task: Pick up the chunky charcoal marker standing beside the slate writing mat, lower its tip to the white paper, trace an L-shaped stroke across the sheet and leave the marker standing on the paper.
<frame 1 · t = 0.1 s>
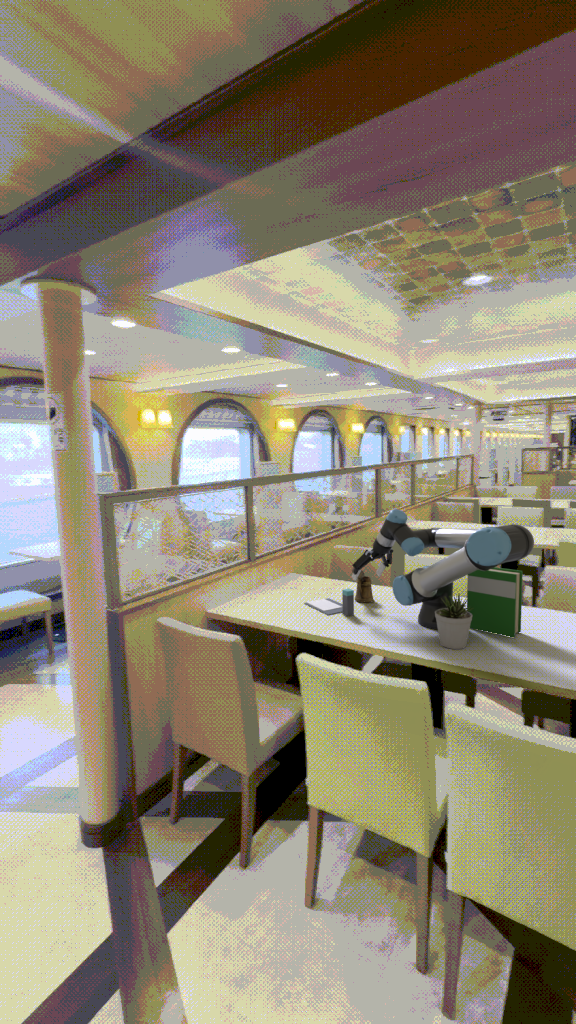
hand: (365, 576, 202), 15 cm above the table, tool tilted 35°, fingers open, 13 cm apart
writing mat: (328, 606, 209), on the table
marker: (348, 614, 197), on the table
wooden mug: (362, 601, 216), on the table
hardback book: (493, 630, 176), on the table
potted plant: (452, 645, 162), on the table
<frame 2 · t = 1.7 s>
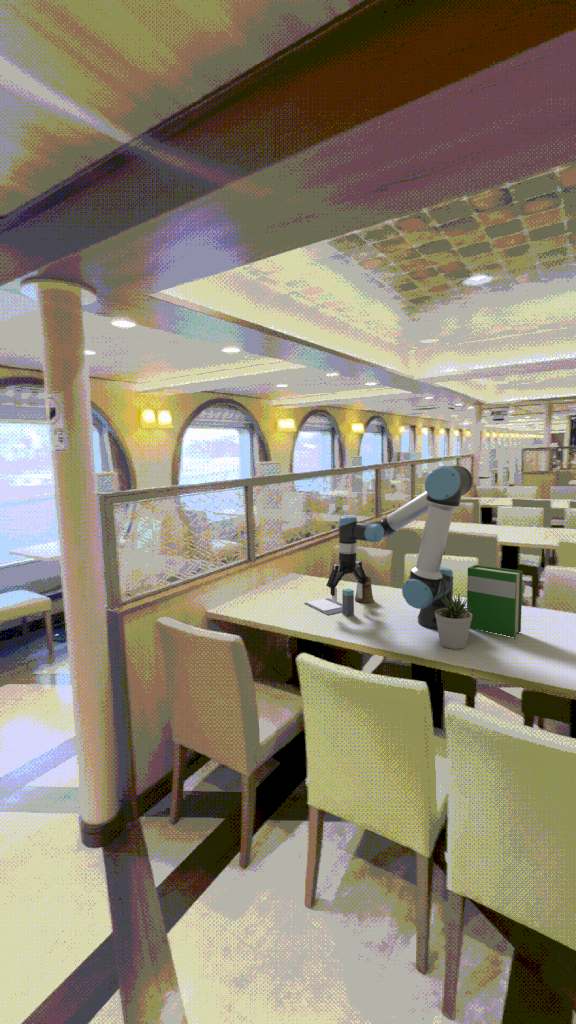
hand: (347, 600, 197), 6 cm above the table, tool pointing down, fingers open, 13 cm apart
nothing on the table moved.
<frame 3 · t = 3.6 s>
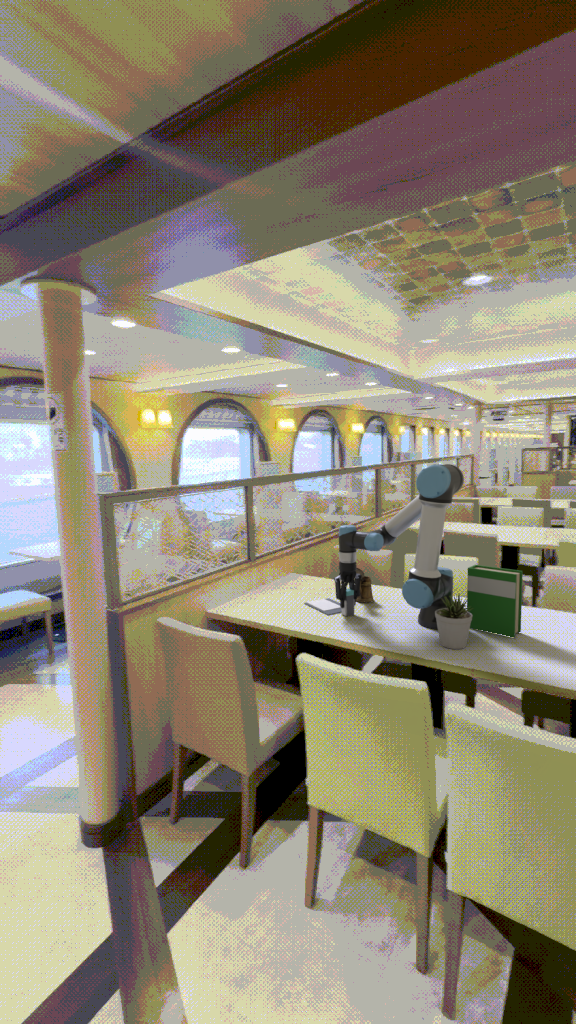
hand: (348, 613, 198), 0 cm above the table, tool pointing down, fingers closed on marker, 3 cm apart
marker: (348, 614, 197), on the table, touching gripper
everything else where it was.
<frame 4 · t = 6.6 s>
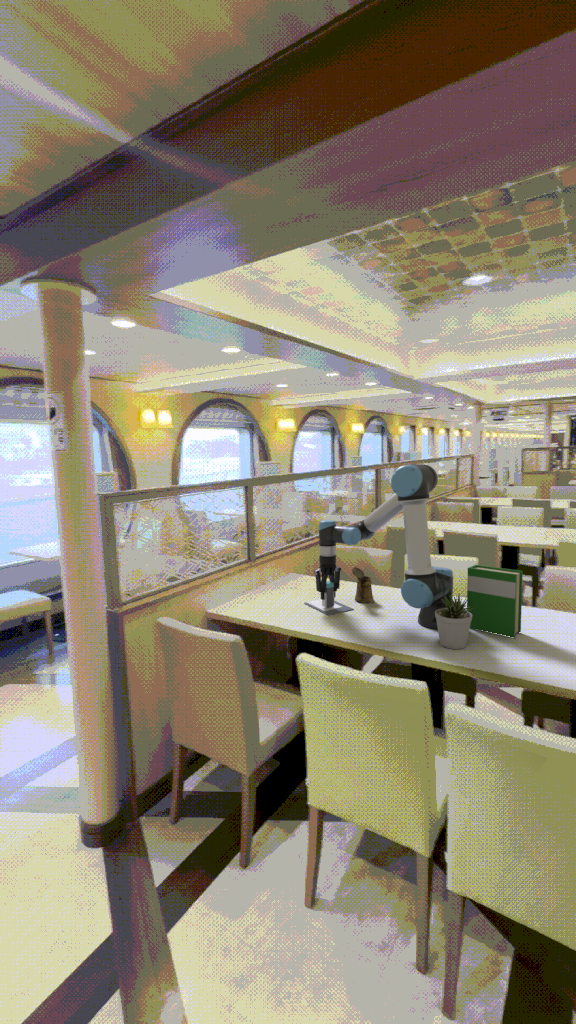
hand: (328, 605, 205), 2 cm above the table, tool pointing down, fingers closed on marker, 3 cm apart
marker: (328, 606, 205), point 1 cm above the table, touching gripper
everything else where it was.
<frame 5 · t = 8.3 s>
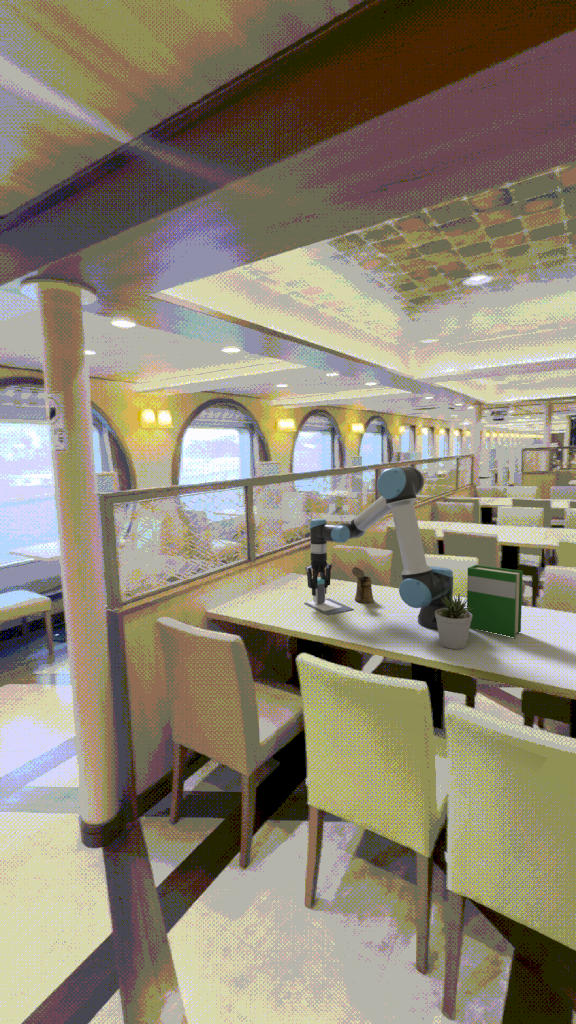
hand: (319, 601, 212), 2 cm above the table, tool pointing down, fingers closed on marker, 3 cm apart
marker: (319, 602, 212), point 1 cm above the table, touching gripper
everything else where it was.
when the fingers open (2 cm above the table, at t = 9.9 s): marker stays where it is, resting on writing mat.
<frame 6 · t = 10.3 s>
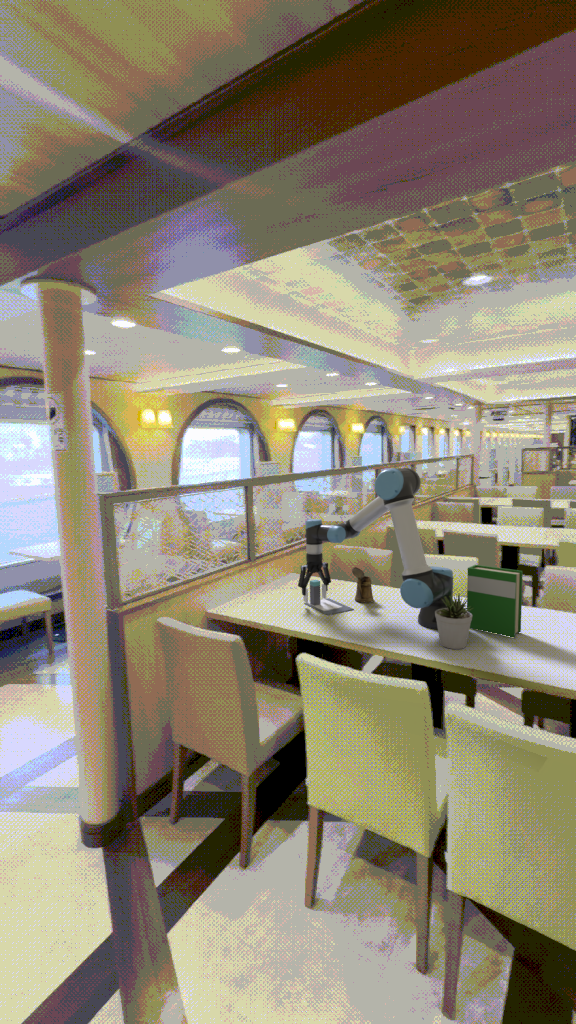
hand: (315, 599, 211), 3 cm above the table, tool pointing down, fingers open, 9 cm apart
marker: (315, 603, 211), point 1 cm above the table, touching writing mat
everything else where it was.
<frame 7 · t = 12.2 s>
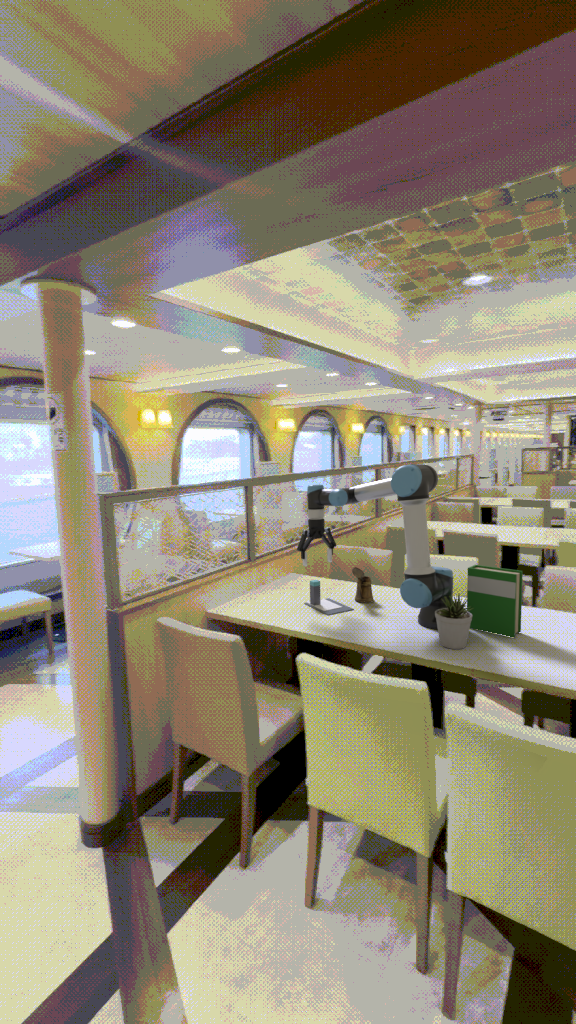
hand: (317, 564, 209), 20 cm above the table, tool pointing down, fingers open, 13 cm apart
nothing on the table moved.
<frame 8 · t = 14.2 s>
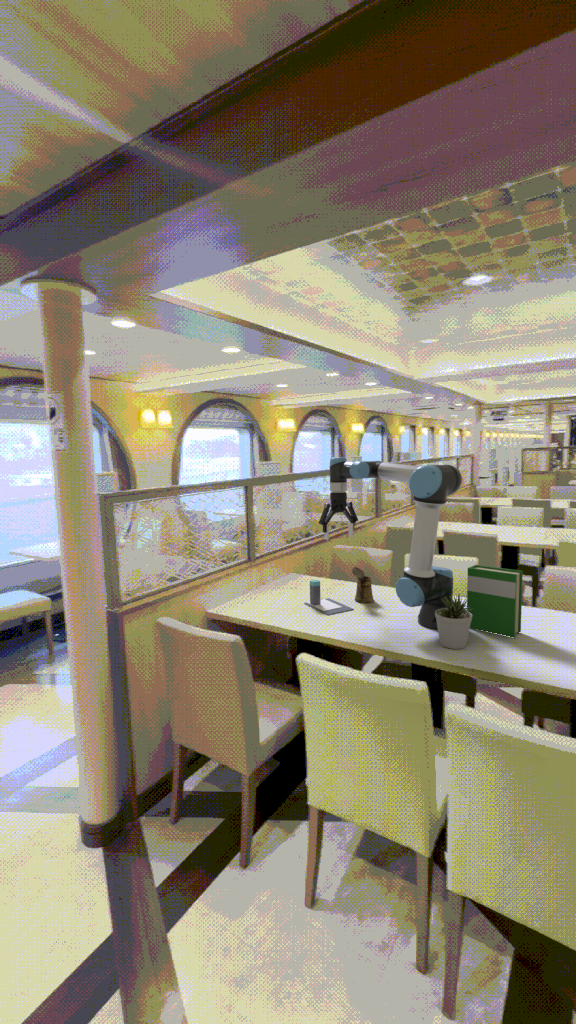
hand: (338, 538, 207), 32 cm above the table, tool pointing down, fingers open, 13 cm apart
nothing on the table moved.
at the end: marker inside the target area (4.2 cm from its centre), point 0.7 cm above the table; marker tilted 0°; the gripper is holding nothing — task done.
